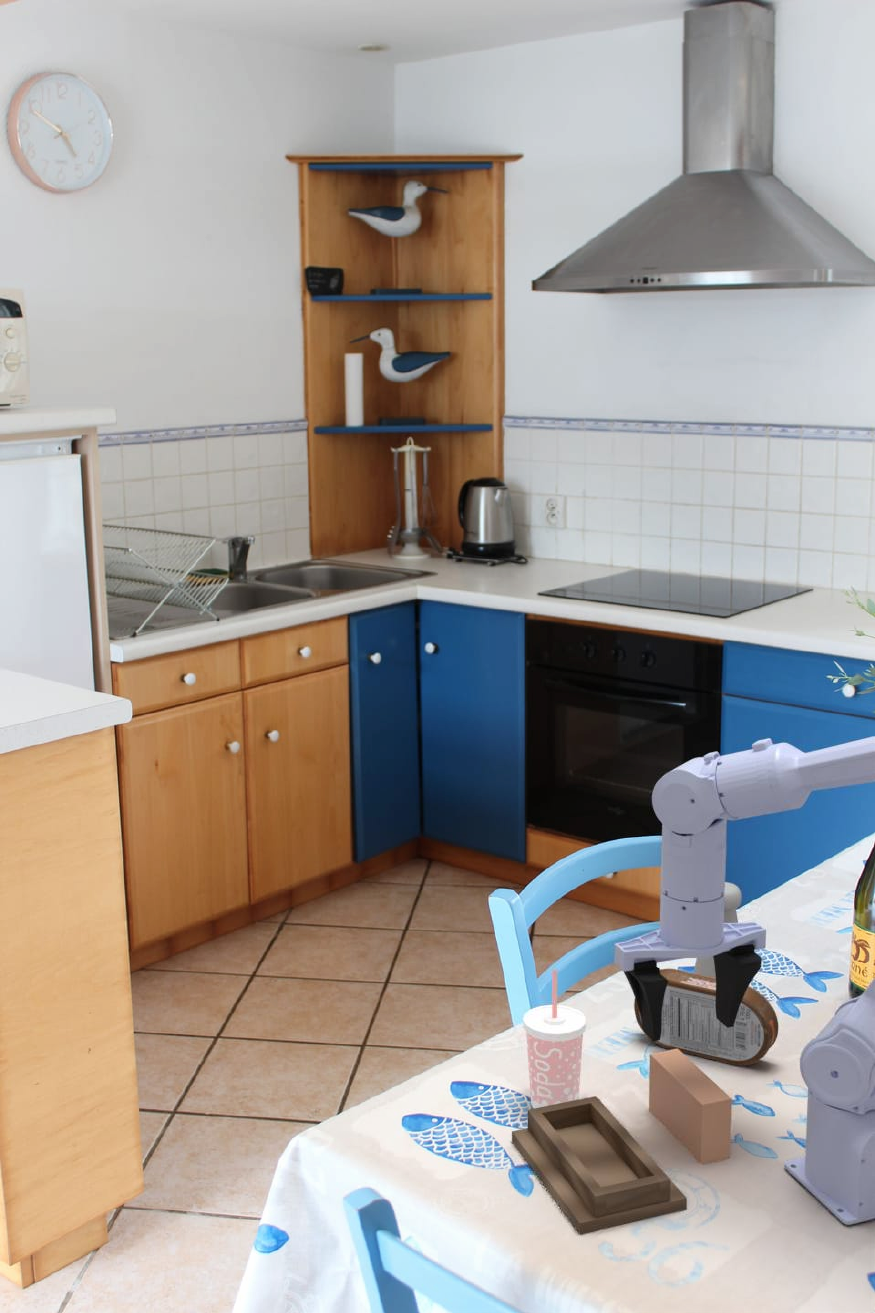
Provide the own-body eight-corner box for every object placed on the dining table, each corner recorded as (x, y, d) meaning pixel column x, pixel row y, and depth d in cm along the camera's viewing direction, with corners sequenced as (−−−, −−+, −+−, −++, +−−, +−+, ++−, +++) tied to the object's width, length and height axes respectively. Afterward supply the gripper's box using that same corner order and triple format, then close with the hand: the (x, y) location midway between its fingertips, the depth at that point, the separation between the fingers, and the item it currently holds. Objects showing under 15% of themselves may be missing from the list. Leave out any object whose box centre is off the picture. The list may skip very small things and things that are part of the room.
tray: (686, 1209, 116) (687, 1177, 116) (579, 1234, 113) (579, 1201, 113) (609, 1120, 130) (609, 1092, 130) (512, 1141, 127) (511, 1111, 127)
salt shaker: (683, 987, 158) (685, 881, 156) (724, 977, 161) (726, 872, 158) (714, 1007, 153) (716, 898, 150) (755, 997, 155) (758, 889, 153)
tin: (778, 1064, 141) (780, 988, 139) (769, 1077, 138) (771, 1000, 136) (640, 1031, 148) (641, 959, 146) (629, 1044, 145) (630, 970, 144)
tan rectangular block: (729, 1159, 124) (731, 1098, 123) (700, 1165, 123) (702, 1105, 122) (676, 1105, 133) (677, 1048, 132) (648, 1110, 132) (649, 1053, 131)
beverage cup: (510, 1104, 134) (509, 971, 131) (550, 1081, 138) (550, 951, 135) (558, 1127, 129) (558, 990, 126) (598, 1103, 134) (599, 969, 131)
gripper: (739, 866, 129) (734, 998, 132) (600, 885, 125) (598, 1022, 128) (780, 892, 123) (774, 1031, 126) (635, 914, 118) (632, 1057, 121)
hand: (688, 1029), depth 126 cm, fingers open, 7 cm apart
